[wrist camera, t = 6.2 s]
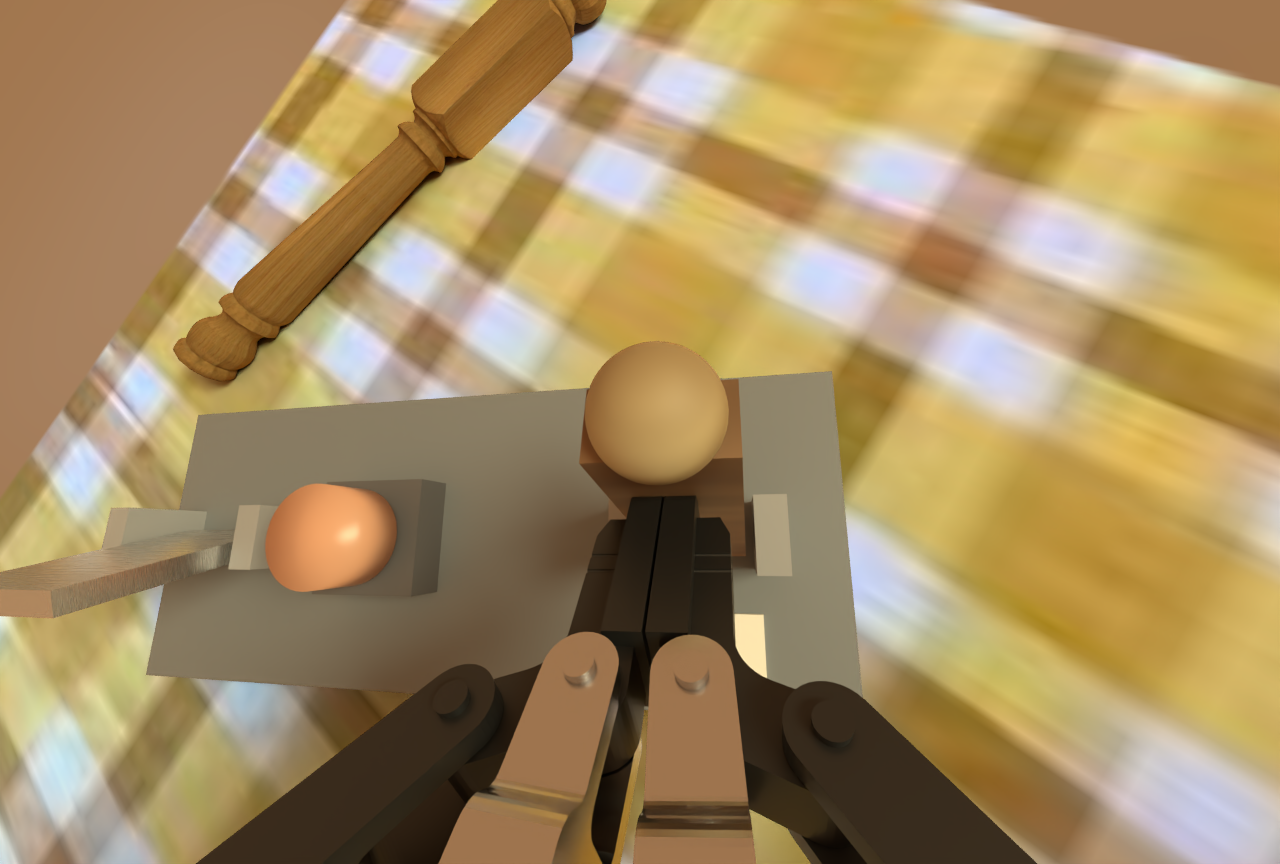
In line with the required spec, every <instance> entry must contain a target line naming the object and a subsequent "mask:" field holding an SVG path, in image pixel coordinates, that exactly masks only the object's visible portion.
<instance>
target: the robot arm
mask: <svg viewBox="0 0 1280 864" xmlns="http://www.w3.org/2000/svg"><path fill="white" fill-rule="evenodd" d="M644 706H646V707H648V729H647V752H646V774H645V795H644V805H643V810H642V813H641V814H640V816H639V818H638V822H637V828H636V835H635V845H634V860H633V864H756V859H755V850H754V842H753V833H752V825H751V818H750V812H749V809H751V810H753V811H754V812H756V813H758V814H760V815H762V816H764V817H766V818H768V819H770V820H772V821H774V822H776V823H778V824H780V825H782V826H784V827H786V828H788V830H789V832H790V834H791V835H792V837H793V838H794V840H795V841H796V843H797V844H798V845H799V847H800V848H801V850H802V851H803V852H804V854H805V855H806V857H807V858H808V859H809V861H810V862H811V864H1037V863H1036V862H1035V861H1034V860H1033V859H1032V858H1031V857H1030V856H1029V855H1028V854H1027V853H1025V852H1024V851H1023V850H1022V849H1021V848H1020V847H1019V846H1018V845H1017V844H1016V843H1015V842H1014V841H1013V840H1012V839H1011V838H1010V837H1009V836H1008V835H1007V834H1005V833H1004V832H1003V831H1002V830H1001V829H1000V828H999V827H998V826H997V825H996V824H995V823H994V822H993V821H992V820H991V819H990V818H989V817H988V816H987V815H986V814H984V813H983V812H982V811H981V810H980V809H979V808H978V807H977V806H976V805H975V804H974V803H973V802H972V801H971V800H970V799H969V798H968V797H967V796H966V795H964V794H963V793H962V792H961V791H960V790H959V789H958V788H957V787H956V786H955V785H954V784H953V783H952V782H951V781H950V780H949V779H948V778H947V777H946V776H944V775H943V774H942V773H941V772H940V771H939V770H938V769H937V768H936V767H935V766H934V765H933V764H932V763H931V762H930V761H929V760H928V759H927V758H926V757H925V756H923V755H922V754H921V753H920V752H919V751H918V750H917V749H916V748H915V747H914V746H913V745H912V744H911V743H910V742H909V741H908V740H907V739H906V738H905V737H903V736H902V735H901V734H900V733H899V732H898V731H897V730H896V729H895V728H894V727H893V726H892V725H891V724H890V723H889V722H888V721H887V720H886V719H885V718H884V717H882V716H881V715H880V714H879V713H878V712H877V711H876V710H875V709H874V708H873V707H872V706H871V705H870V704H869V703H868V702H867V701H866V700H865V699H863V698H862V697H861V696H860V695H859V694H857V693H856V692H854V691H853V690H851V689H849V688H847V687H845V686H843V685H840V684H837V683H834V682H828V681H814V682H809V683H806V684H803V685H801V686H800V687H798V688H796V689H794V688H791V687H788V686H786V685H783V684H780V683H778V682H775V681H772V680H770V679H768V678H765V677H763V676H761V675H760V674H758V673H757V672H755V671H754V670H753V669H752V668H750V667H749V666H748V665H747V664H746V663H745V661H744V660H743V659H742V657H741V656H740V654H739V652H738V650H737V648H736V640H735V613H734V585H733V568H732V553H731V538H730V533H729V531H728V529H727V528H726V526H725V524H724V523H723V521H722V520H721V518H720V517H709V518H700V517H699V507H698V501H697V497H696V496H665V498H664V499H663V497H662V496H658V497H632V498H631V501H630V505H629V509H628V514H627V518H626V519H611V520H610V521H609V522H608V523H607V524H606V525H605V527H604V528H603V529H602V530H601V531H600V533H599V534H598V535H597V538H596V541H595V545H594V548H593V551H592V558H590V562H589V565H588V568H587V573H586V575H585V579H584V582H583V585H582V589H581V592H580V596H579V599H578V602H577V606H576V609H575V613H574V616H573V619H572V623H571V626H570V630H569V632H568V635H567V637H566V638H564V639H562V640H561V641H559V642H558V643H557V644H556V645H555V646H554V647H553V648H552V649H551V650H550V651H549V653H548V654H547V656H546V657H545V659H544V661H543V663H541V664H539V665H537V666H535V667H532V668H530V669H527V670H523V671H520V672H516V673H513V674H509V675H506V676H502V677H499V678H495V679H493V677H492V675H491V674H490V672H489V671H488V670H487V669H486V668H484V667H482V666H480V665H477V664H463V665H459V666H455V667H453V668H450V669H448V670H447V671H445V672H443V673H442V674H440V675H439V676H437V677H436V678H435V679H433V680H432V681H431V682H429V683H428V684H427V685H426V686H424V687H423V688H422V689H420V690H419V691H418V692H417V693H415V694H414V695H413V696H411V697H410V698H409V699H408V700H406V701H405V702H404V703H402V704H401V705H400V706H399V707H397V708H396V709H395V710H393V711H392V712H391V713H390V714H388V715H387V716H386V717H384V718H383V719H382V720H380V721H379V722H378V723H377V724H375V725H374V726H373V727H371V728H370V729H369V730H368V731H366V732H365V733H364V734H362V735H361V736H360V737H359V738H357V739H356V740H355V741H353V742H352V743H351V744H350V745H348V746H347V747H346V748H344V749H343V750H342V751H340V752H339V753H338V754H337V755H335V756H334V757H333V758H331V759H330V760H329V761H328V762H326V763H325V764H324V765H322V766H321V767H320V768H319V769H317V770H316V771H315V772H313V773H312V774H311V775H310V776H308V777H307V778H306V779H304V780H303V781H302V782H301V783H299V784H298V785H297V786H295V787H294V788H293V789H291V790H290V791H289V792H288V793H286V794H285V795H284V796H282V797H281V798H280V799H279V800H277V801H276V802H275V803H273V804H272V805H271V806H270V807H268V808H267V809H266V810H264V811H263V812H262V813H261V814H259V815H258V816H257V817H255V818H254V819H253V820H251V821H250V822H249V823H248V824H246V825H245V826H244V827H242V828H241V829H240V830H239V831H237V832H236V833H235V834H233V835H232V836H231V837H230V838H228V839H227V840H226V841H224V842H223V843H222V844H221V845H219V846H218V847H217V848H215V849H214V850H213V851H212V852H210V853H209V854H208V855H206V856H205V857H204V858H202V859H201V860H200V861H199V862H197V863H196V864H620V862H621V857H622V851H623V846H624V841H625V835H626V830H627V825H628V820H629V814H630V809H631V804H632V799H633V793H634V788H635V783H636V778H637V772H638V767H639V762H640V756H641V750H642V740H641V730H642V722H643V714H644Z"/></svg>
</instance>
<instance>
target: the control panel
mask: <svg viewBox="0 0 1280 864" xmlns="http://www.w3.org/2000/svg"><path fill="white" fill-rule="evenodd" d="M730 379H739V398H740V417H741V436H742V456H743V485H744V516H745V546H746V556H732V568H733V585H734V613H735V640H736V648H737V650H738V652H739V654H740V656H741V657H742V659H743V660H744V661H745V663H746V664H747V665H748V666H749V667H750V668H752V669H753V670H754V671H755V672H757V673H758V674H760V675H761V676H763V677H765V678H768V679H770V680H772V681H775V682H778V683H780V684H783V685H786V686H788V687H791V688H794V689H796V688H798V687H800V686H801V685H803V684H806V683H809V682H814V681H828V682H834V683H837V684H840V685H843V686H845V687H847V688H849V689H851V690H853V691H854V692H856V693H857V694H859V695H860V696H861V697H862V698H863V696H862V685H861V674H860V664H859V653H858V643H857V632H856V622H855V611H854V601H853V590H852V579H851V569H850V558H849V548H848V537H847V527H846V516H845V506H844V495H843V484H842V474H841V463H840V453H839V442H838V432H837V421H836V411H835V400H834V389H833V379H832V371H829V372H815V373H801V374H786V375H772V376H757V377H743V378H728V379H720V380H730ZM587 389H589V388H583V389H569V390H554V391H540V392H526V393H511V394H497V395H482V396H468V397H453V398H439V399H424V400H410V401H395V402H381V403H366V404H352V405H337V406H323V407H308V408H294V409H280V410H265V411H251V412H236V413H222V414H207V415H198V420H197V425H196V430H195V435H194V440H193V445H192V450H191V455H190V460H189V464H188V469H187V474H186V479H185V484H184V489H183V494H182V499H181V504H180V509H179V510H166V509H145V508H111V511H110V515H109V519H108V524H107V528H106V532H105V536H104V541H103V545H102V549H106V548H111V547H115V546H120V545H124V544H129V543H133V542H138V541H142V540H147V539H151V538H156V537H160V536H165V535H169V534H174V533H178V532H182V531H187V530H235V533H234V539H233V545H232V550H231V556H230V562H229V564H228V565H224V566H221V567H218V568H215V569H211V570H208V571H205V572H202V573H198V574H195V575H192V576H189V577H185V578H182V579H179V580H176V581H172V582H169V583H166V584H164V588H163V593H162V598H161V603H160V608H159V613H158V618H157V623H156V628H155V633H154V638H153V643H152V648H151V653H150V658H149V663H148V668H147V673H146V675H155V676H169V677H183V678H197V679H212V680H226V681H240V682H255V683H269V684H283V685H298V686H312V687H326V688H341V689H355V690H369V691H383V692H398V693H412V694H415V693H417V692H418V691H419V690H420V689H422V688H423V687H424V686H426V685H427V684H428V683H429V682H431V681H432V680H433V679H435V678H436V677H437V676H439V675H440V674H442V673H443V672H445V671H447V670H448V669H450V668H453V667H455V666H459V665H463V664H477V665H480V666H482V667H484V668H486V669H487V670H488V671H489V672H490V674H491V675H492V677H493V679H495V678H499V677H502V676H506V675H509V674H513V673H516V672H520V671H523V670H527V669H530V668H532V667H535V666H537V665H539V664H541V663H543V661H544V659H545V657H546V656H547V654H548V653H549V651H550V650H551V649H552V648H553V647H554V646H555V645H556V644H557V643H558V642H559V641H561V640H562V639H564V638H566V637H567V635H568V632H569V630H570V626H571V623H572V619H573V616H574V613H575V609H576V606H577V602H578V599H579V596H580V592H581V589H582V585H583V582H584V579H585V575H586V573H587V568H588V565H589V562H590V558H592V551H593V548H594V545H595V541H596V538H597V535H598V534H599V533H600V531H601V530H602V529H603V528H604V527H605V525H606V524H607V523H608V522H609V521H610V520H611V519H626V517H625V516H624V515H623V514H622V513H621V511H620V510H619V509H618V508H617V507H616V506H615V504H614V503H613V502H612V501H611V500H610V499H609V498H608V496H607V495H606V494H605V493H604V492H603V491H602V489H601V488H600V487H599V486H598V485H597V484H596V483H595V481H594V480H593V479H592V478H591V477H590V476H589V474H588V473H587V472H586V471H585V470H584V469H583V468H582V466H581V465H580V464H579V459H580V449H581V439H582V430H583V420H584V410H585V401H586V391H587ZM310 484H328V485H336V486H344V487H351V488H359V489H367V490H371V491H374V492H376V493H378V494H380V495H381V496H382V497H384V498H385V499H386V501H387V502H388V503H389V504H390V506H391V508H392V510H393V512H394V515H395V519H396V524H397V537H396V543H395V547H394V550H393V552H392V555H391V557H390V559H389V561H388V562H387V564H386V565H385V567H384V568H383V569H382V570H381V572H379V573H378V574H377V575H376V576H375V577H374V578H372V579H371V580H369V581H367V582H365V583H363V584H360V585H355V586H348V587H340V588H332V589H324V590H316V591H308V592H298V591H293V590H290V589H288V588H286V587H284V586H283V585H281V584H280V583H279V582H278V581H277V580H276V579H275V577H274V576H273V575H272V573H271V571H270V569H269V566H268V563H267V559H266V552H265V542H266V535H267V530H268V527H269V524H270V521H271V519H272V517H273V515H274V513H275V511H276V510H277V508H278V507H279V505H280V504H281V503H282V502H283V501H284V499H286V498H287V497H288V496H289V495H290V494H291V493H293V492H294V491H296V490H297V489H299V488H301V487H304V486H306V485H310ZM102 549H101V550H102ZM644 710H648V707H646V706H644Z"/></svg>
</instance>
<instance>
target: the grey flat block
mask: <svg viewBox="0 0 1280 864" xmlns="http://www.w3.org/2000/svg"><path fill="white" fill-rule="evenodd" d="M234 533H235V530H187V531H182V532H178V533H174V534H169V535H165V536H160V537H156V538H151V539H147V540H142V541H138V542H133V543H129V544H124V545H120V546H115V547H111V548H106V549H102V550H97V551H93V552H88V553H84V554H79V555H75V556H70V557H66V558H61V559H57V560H53V561H48V562H44V563H39V564H35V565H30V566H26V567H21V568H17V569H12V570H8V571H3V572H0V616H12V617H37V618H55V617H59V616H62V615H65V614H68V613H72V612H75V611H78V610H81V609H85V608H88V607H91V606H94V605H98V604H101V603H104V602H107V601H111V600H114V599H117V598H120V597H124V596H127V595H130V594H133V593H137V592H140V591H143V590H146V589H150V588H153V587H156V586H159V585H163V584H166V583H169V582H172V581H176V580H179V579H182V578H185V577H189V576H192V575H195V574H198V573H202V572H205V571H208V570H211V569H215V568H218V567H221V566H224V565H228V564H229V562H230V556H231V550H232V545H233V539H234Z"/></svg>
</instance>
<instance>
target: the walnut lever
mask: <svg viewBox="0 0 1280 864" xmlns="http://www.w3.org/2000/svg"><path fill="white" fill-rule="evenodd" d="M579 464H580V465H581V466H582V468H583V469H584V470H585V471H586V472H587V473H588V474H589V476H590V477H591V478H592V479H593V480H594V481H595V483H596V484H597V485H598V486H599V487H600V488H601V489H602V491H603V492H604V493H605V494H606V495H607V496H608V498H609V499H610V500H611V501H612V502H613V503H614V504H615V506H616V507H617V508H618V509H619V510H620V511H621V513H622V514H623V515H624V516H625V517H626V518H627V514H628V509H629V505H630V501H631V498H632V497H658V496H662V497H663V499H664V498H665V496H696V497H697V501H698V507H699V517H700V518H709V517H720V518H721V520H722V521H723V523H724V524H725V526H726V528H727V529H728V531H729V533H730V538H731V553H732V556H746V546H745V516H744V485H743V456H742V436H741V417H740V398H739V379H730V380H720V378H719V376H718V375H717V373H716V372H715V370H714V369H713V368H712V367H711V366H710V365H709V363H708V362H707V361H706V360H704V359H703V358H702V357H701V356H700V355H698V354H697V353H695V352H693V351H692V350H690V349H688V348H686V347H684V346H681V345H678V344H674V343H669V342H659V341H654V342H644V343H640V344H636V345H633V346H630V347H628V348H626V349H624V350H622V351H620V352H618V353H617V354H615V355H614V356H613V357H612V358H610V359H609V360H608V361H607V362H606V363H605V364H604V365H603V366H602V367H601V369H600V370H599V371H598V373H597V374H596V376H595V377H594V379H593V381H592V383H591V385H590V388H589V389H587V391H586V401H585V410H584V420H583V430H582V439H581V449H580V459H579Z"/></svg>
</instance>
